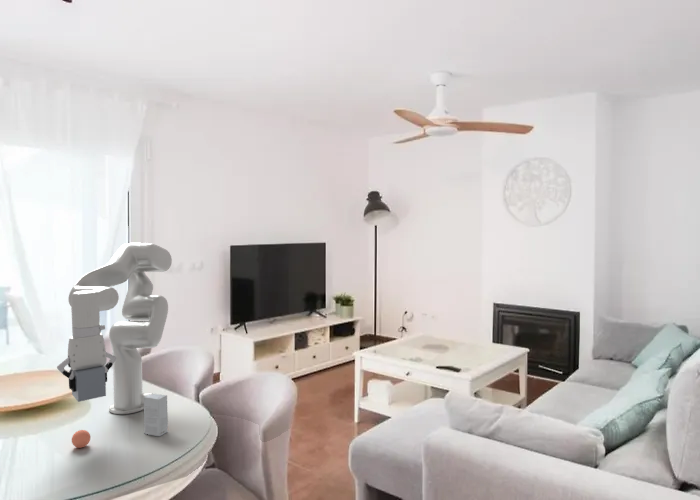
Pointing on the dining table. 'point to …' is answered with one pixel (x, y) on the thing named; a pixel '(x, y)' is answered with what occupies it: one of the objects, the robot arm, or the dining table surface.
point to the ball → (81, 438)
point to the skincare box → (155, 414)
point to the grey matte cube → (90, 383)
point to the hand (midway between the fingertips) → (88, 387)
